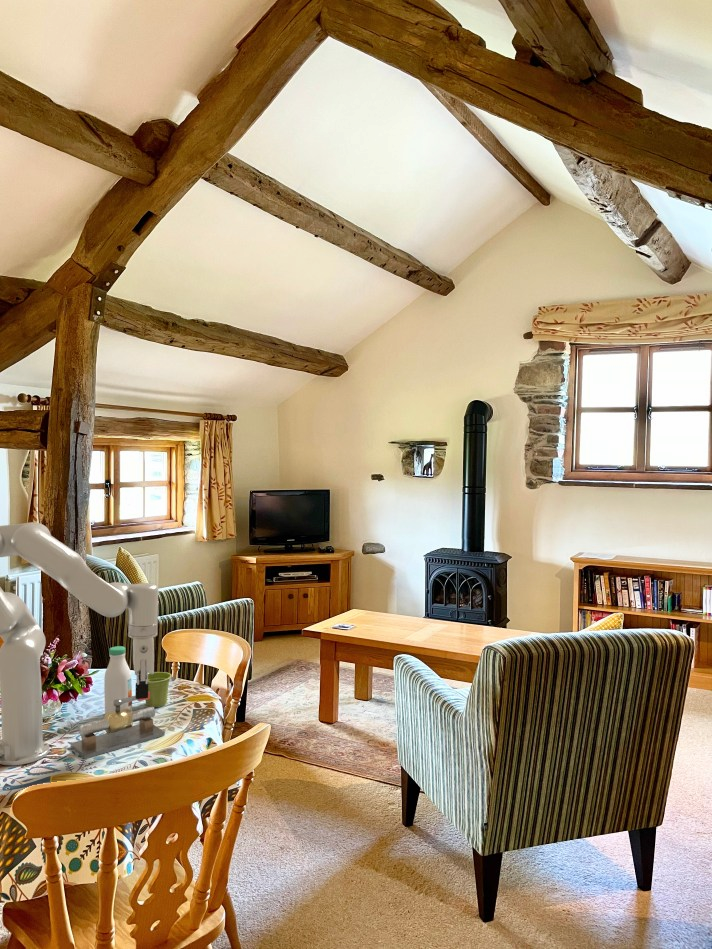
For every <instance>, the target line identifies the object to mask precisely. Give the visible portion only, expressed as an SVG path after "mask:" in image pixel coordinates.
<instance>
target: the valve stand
mask: <svg viewBox="0 0 712 949" xmlns="http://www.w3.org/2000/svg"><path fill="white" fill-rule="evenodd" d="M155 710H156V709H155V707H148V706H147V707H145V708H142V709H138V710H134V711H133V710H132V712H131V711H130V710H129V709H128V708H127V709H123V710H120V706H115V712H111V713H108V714H105V713H104V715H103V719H99V720H96V721H92V722H88V723H84V724H80V725H78V734H79V736H80V737H81V739H80V740H78V741H77V740H76V741H73V742H70V748H71V749H72V750H74V751H75V752H76V753H77V754H78V755H79V756H80V757H82V758H83V759H84V760H86V759H89V758H92V757H97V756H99V755H102V754H107V753H110V752H113V750H114V751H115V750H116V751H117V750H121V749H124V748H127V747H129V746H130V747H131V746H132V745H133V744H134V745H137V744H140V742H141V743H143V742H144V743H145V742H147V741H150V740H154V739H157V738H161V737H164V736H165V734H166V732H165V731H164V730H163V729H161V728H159V727H158V726H157V725H155V724H154V719H153V718H154V717H155V716H156V711H155ZM136 722H139V723H138V724H134V725H133V723H136ZM103 731H105V733H102V734H98V735H96V733H99V732H103ZM134 745H133V746H134ZM126 746H127V747H126ZM123 747H124V748H123Z"/></svg>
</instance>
